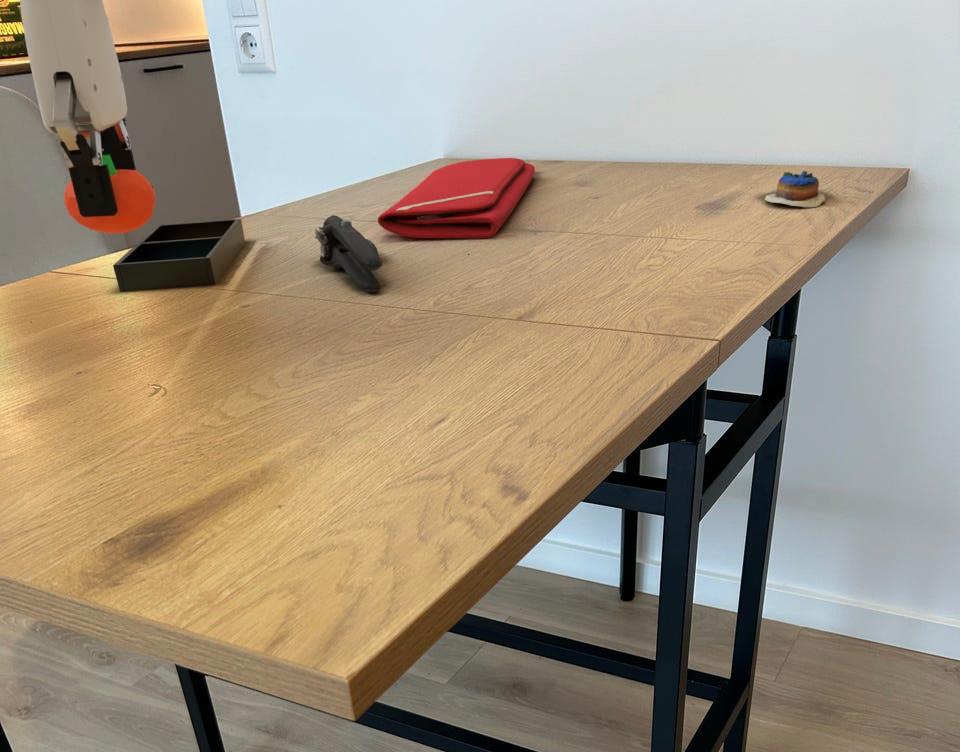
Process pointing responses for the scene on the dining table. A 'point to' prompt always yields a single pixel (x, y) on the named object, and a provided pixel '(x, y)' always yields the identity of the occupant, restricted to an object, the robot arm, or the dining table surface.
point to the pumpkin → (118, 202)
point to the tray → (180, 255)
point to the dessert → (797, 190)
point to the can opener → (349, 252)
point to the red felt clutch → (461, 200)
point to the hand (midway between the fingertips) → (112, 204)
